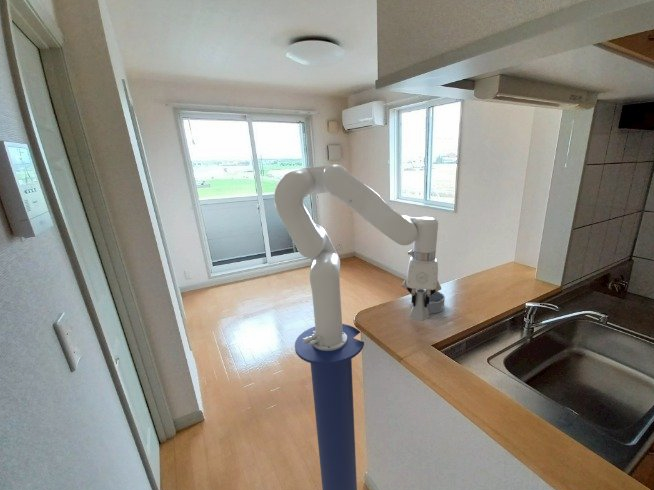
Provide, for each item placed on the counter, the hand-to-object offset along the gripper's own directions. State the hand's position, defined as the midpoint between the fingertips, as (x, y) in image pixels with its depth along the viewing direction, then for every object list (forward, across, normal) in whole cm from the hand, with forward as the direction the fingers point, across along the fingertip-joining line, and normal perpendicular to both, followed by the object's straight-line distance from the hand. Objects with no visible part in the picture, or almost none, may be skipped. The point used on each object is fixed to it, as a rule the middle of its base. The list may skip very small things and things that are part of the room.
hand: (420, 304), depth 109 cm
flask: (+5, 0, 0) cm, 5 cm away
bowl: (+11, +3, +22) cm, 25 cm away
